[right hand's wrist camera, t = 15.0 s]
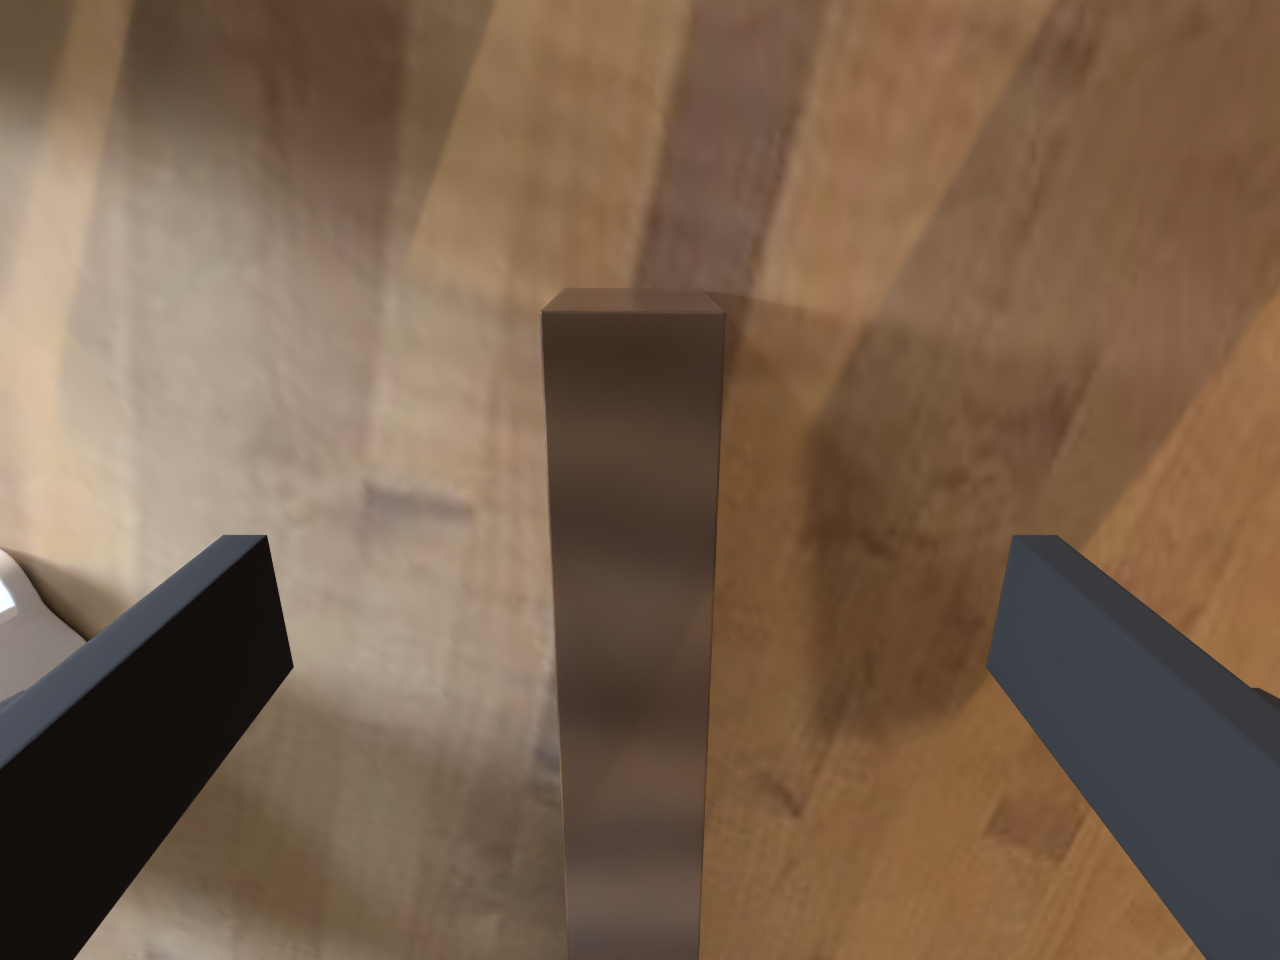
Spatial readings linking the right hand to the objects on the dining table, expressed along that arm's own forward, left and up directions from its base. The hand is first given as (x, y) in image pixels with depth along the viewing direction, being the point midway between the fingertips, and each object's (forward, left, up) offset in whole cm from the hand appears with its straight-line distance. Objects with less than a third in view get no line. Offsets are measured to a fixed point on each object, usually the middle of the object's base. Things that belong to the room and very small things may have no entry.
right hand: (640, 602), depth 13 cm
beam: (+11, -19, -18) cm, 29 cm away
